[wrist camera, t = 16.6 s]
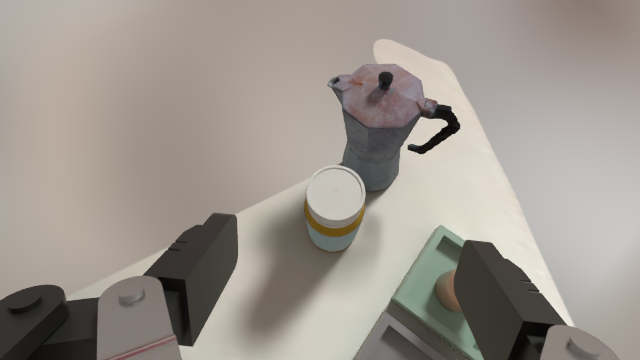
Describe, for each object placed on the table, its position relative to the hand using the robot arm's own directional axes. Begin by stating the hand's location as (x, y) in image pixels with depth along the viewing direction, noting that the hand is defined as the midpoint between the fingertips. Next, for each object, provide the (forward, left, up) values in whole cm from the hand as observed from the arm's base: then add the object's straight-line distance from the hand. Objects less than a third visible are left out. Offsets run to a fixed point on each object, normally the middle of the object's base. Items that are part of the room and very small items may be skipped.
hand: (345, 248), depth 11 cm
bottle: (+8, +5, -34) cm, 35 cm away
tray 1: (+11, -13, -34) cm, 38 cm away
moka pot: (+20, +6, -34) cm, 40 cm away
